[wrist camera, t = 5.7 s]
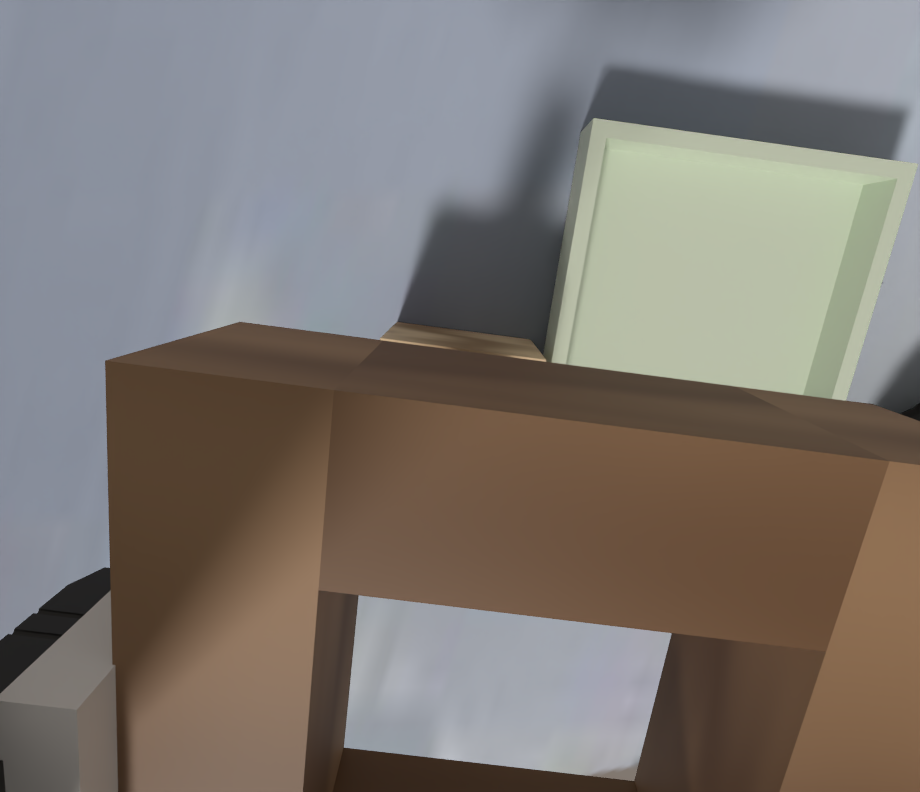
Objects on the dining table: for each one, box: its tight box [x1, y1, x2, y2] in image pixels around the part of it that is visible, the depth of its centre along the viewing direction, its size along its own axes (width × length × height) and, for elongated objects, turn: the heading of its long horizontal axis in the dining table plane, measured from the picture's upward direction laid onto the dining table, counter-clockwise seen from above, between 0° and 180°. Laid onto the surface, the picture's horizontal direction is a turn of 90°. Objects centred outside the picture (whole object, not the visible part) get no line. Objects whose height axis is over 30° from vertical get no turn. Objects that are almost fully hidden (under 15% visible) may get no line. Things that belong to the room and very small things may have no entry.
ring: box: [105, 322, 920, 792], centre depth 8 cm, size 11×9×3 cm
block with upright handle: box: [380, 322, 546, 362], centre depth 23 cm, size 7×6×14 cm
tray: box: [543, 118, 918, 401], centre depth 28 cm, size 14×14×3 cm
